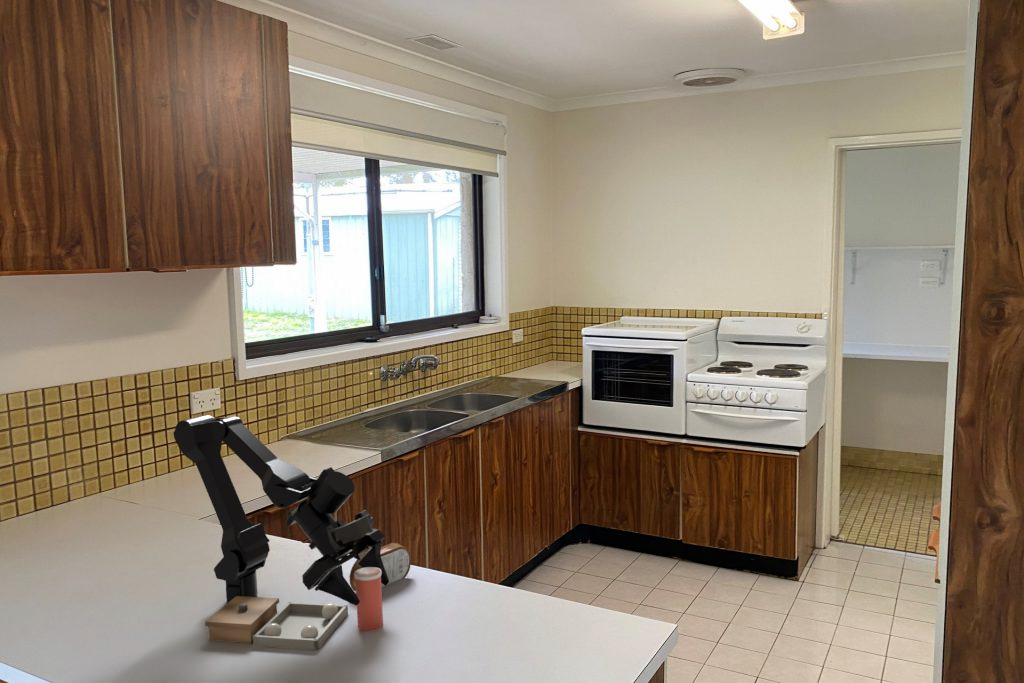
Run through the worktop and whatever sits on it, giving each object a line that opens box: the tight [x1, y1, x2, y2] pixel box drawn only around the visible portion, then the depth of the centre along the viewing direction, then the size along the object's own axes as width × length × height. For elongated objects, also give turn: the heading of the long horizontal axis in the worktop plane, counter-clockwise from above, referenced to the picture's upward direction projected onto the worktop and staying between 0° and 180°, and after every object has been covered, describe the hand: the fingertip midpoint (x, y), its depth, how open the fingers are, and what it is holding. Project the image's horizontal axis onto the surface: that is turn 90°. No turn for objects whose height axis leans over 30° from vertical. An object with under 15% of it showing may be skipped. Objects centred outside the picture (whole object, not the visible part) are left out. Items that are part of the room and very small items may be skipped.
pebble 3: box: [322, 602, 338, 620], centre depth 149 cm, size 3×3×3 cm
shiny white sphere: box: [264, 623, 282, 636], centre depth 142 cm, size 3×3×3 cm
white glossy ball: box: [301, 625, 318, 639], centre depth 141 cm, size 3×3×3 cm
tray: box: [252, 601, 349, 651], centre depth 146 cm, size 14×12×2 cm
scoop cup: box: [354, 567, 384, 632], centre depth 146 cm, size 5×5×11 cm
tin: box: [349, 542, 412, 593], centre depth 165 cm, size 15×3×8 cm, turn 141°
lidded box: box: [204, 596, 280, 644], centre depth 147 cm, size 11×9×5 cm
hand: (373, 593), depth 145 cm, fingers open, 9 cm apart
